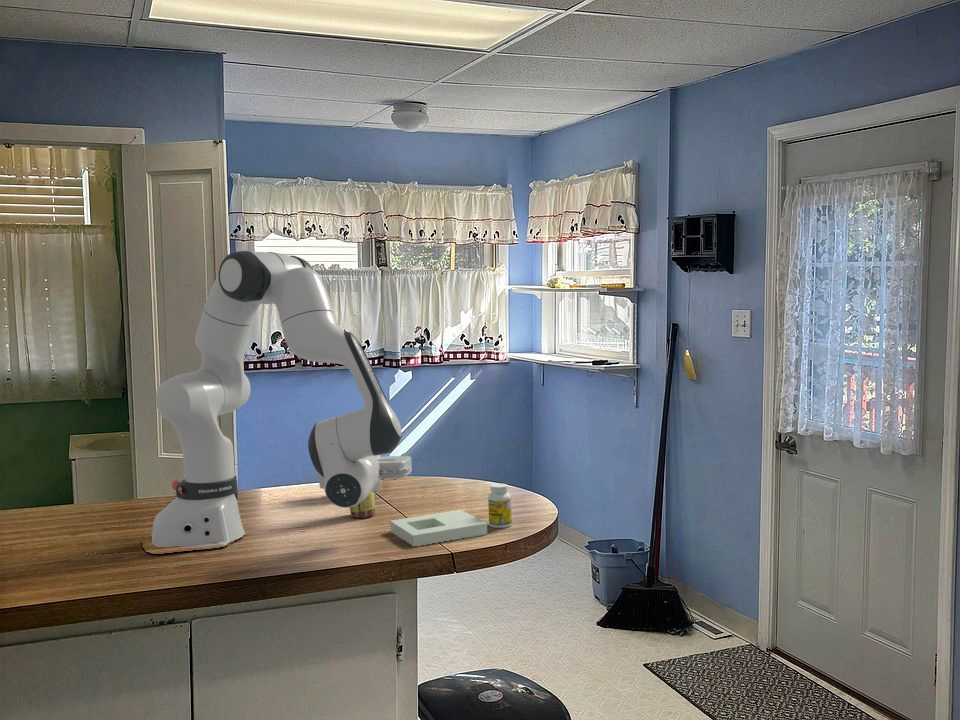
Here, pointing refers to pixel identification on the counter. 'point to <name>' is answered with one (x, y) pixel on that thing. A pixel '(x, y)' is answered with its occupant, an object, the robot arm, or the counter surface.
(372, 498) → the sauce bottle
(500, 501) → the supplement bottle
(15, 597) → the counter surface
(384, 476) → the robot arm
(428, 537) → the socket board
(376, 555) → the counter surface
